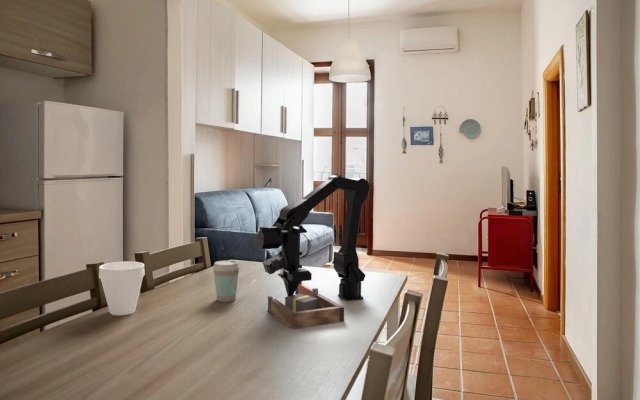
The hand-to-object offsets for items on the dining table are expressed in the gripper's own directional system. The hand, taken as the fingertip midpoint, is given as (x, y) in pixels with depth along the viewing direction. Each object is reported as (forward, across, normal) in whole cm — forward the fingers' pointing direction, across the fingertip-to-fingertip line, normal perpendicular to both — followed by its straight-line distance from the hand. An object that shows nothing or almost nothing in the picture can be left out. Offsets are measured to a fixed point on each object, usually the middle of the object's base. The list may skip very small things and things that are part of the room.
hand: (289, 297), depth 148 cm
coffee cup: (+3, -15, -16) cm, 22 cm away
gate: (+2, -4, +7) cm, 9 cm away
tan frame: (+2, +10, 0) cm, 11 cm away
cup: (+3, -13, -47) cm, 49 cm away
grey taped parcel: (+2, +5, +2) cm, 6 cm away
